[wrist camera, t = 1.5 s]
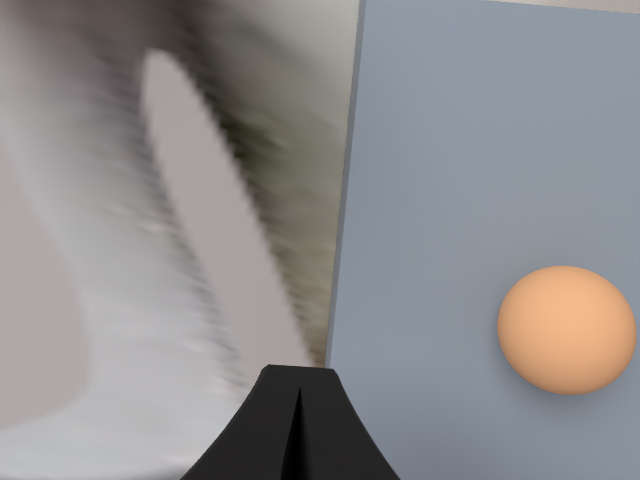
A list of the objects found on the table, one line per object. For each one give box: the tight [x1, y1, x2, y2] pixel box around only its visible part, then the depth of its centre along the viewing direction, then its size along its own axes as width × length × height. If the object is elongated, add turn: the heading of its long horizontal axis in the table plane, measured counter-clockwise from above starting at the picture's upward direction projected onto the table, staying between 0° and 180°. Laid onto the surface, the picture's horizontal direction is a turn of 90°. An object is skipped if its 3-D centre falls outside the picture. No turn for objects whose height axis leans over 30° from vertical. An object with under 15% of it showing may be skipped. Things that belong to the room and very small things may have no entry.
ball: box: [497, 266, 637, 395], centre depth 15 cm, size 3×3×3 cm
